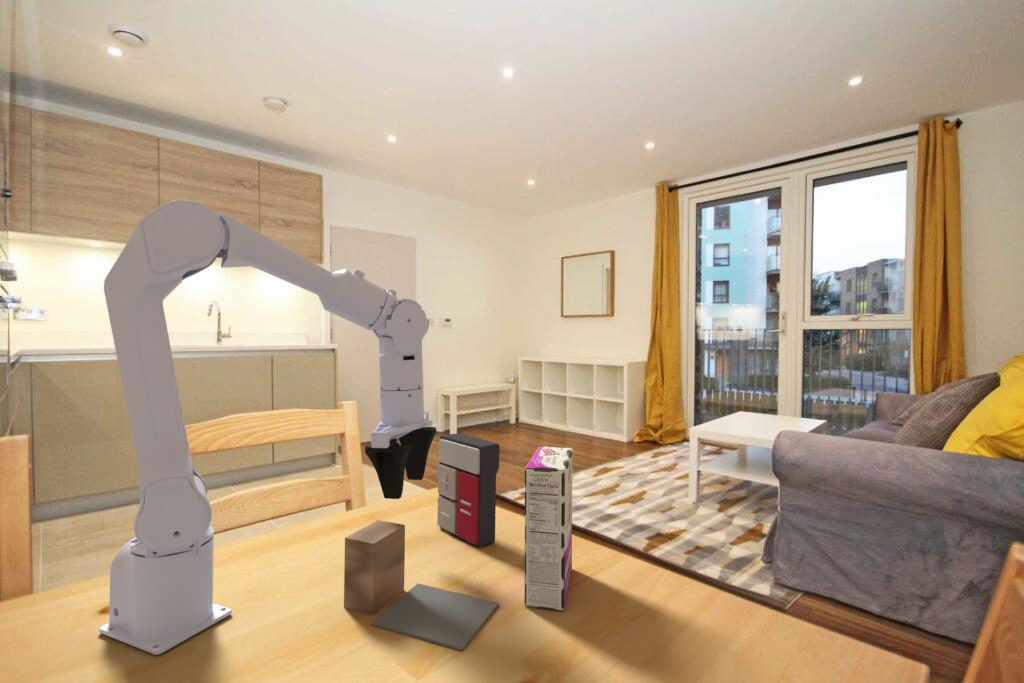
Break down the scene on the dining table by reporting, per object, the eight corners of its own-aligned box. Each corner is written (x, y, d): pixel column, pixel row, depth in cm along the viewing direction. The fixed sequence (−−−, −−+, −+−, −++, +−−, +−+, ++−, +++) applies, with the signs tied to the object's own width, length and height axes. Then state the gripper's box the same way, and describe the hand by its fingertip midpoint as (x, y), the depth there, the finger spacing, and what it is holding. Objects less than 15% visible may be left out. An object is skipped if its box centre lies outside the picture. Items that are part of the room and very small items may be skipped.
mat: (371, 624, 52) (371, 621, 52) (417, 585, 60) (417, 583, 60) (462, 650, 48) (462, 647, 48) (498, 605, 56) (498, 602, 56)
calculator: (434, 527, 79) (435, 435, 79) (455, 521, 82) (457, 432, 82) (476, 550, 71) (477, 447, 71) (498, 542, 74) (500, 443, 74)
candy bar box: (535, 564, 67) (537, 445, 67) (572, 568, 66) (574, 447, 66) (521, 608, 56) (523, 465, 56) (564, 613, 55) (567, 468, 55)
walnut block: (343, 607, 55) (344, 537, 55) (377, 583, 61) (378, 519, 61) (372, 615, 54) (373, 543, 54) (404, 590, 59) (405, 525, 59)
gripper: (408, 396, 58) (411, 509, 58) (447, 382, 72) (449, 472, 72) (353, 396, 59) (357, 506, 59) (402, 382, 73) (405, 471, 74)
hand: (404, 488), depth 66 cm, fingers open, 7 cm apart
